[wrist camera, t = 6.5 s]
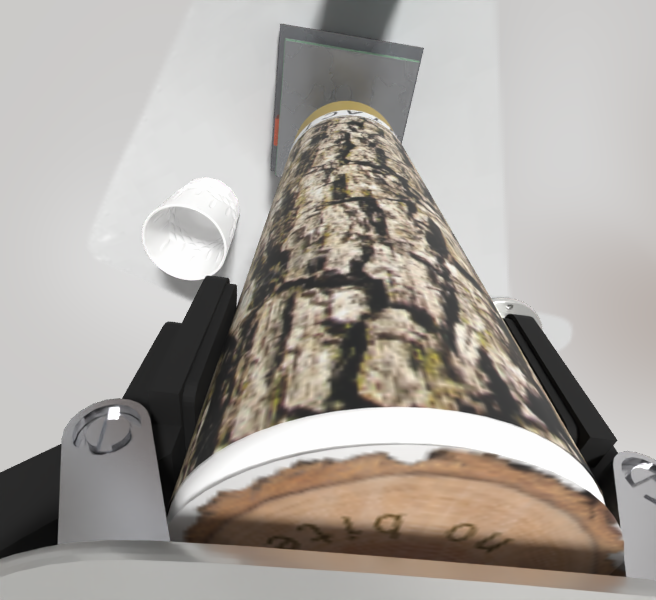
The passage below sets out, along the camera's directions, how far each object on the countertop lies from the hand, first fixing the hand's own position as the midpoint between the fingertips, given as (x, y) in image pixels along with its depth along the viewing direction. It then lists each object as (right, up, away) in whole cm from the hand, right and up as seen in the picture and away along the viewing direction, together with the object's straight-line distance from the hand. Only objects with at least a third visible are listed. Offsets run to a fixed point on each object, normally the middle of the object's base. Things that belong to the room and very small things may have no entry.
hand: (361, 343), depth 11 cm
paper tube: (0, +11, +16) cm, 19 cm away
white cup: (-14, +12, +36) cm, 41 cm away
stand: (0, +20, +30) cm, 36 cm away
